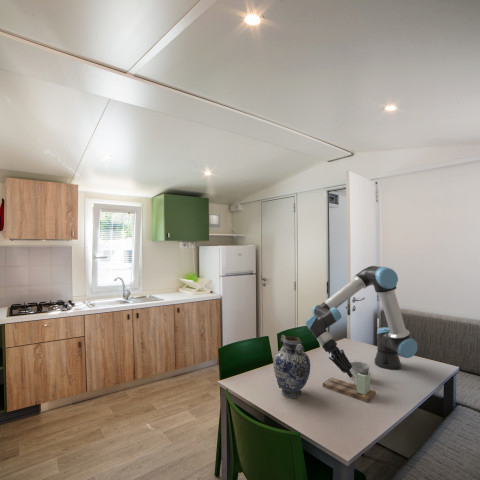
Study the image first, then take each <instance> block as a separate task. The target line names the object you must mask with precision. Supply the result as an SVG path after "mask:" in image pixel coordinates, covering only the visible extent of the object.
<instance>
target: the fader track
mask: <svg viewBox="0 0 480 480" xmlns="http://www.w3.org/2000/svg"><path fill="white" fill-rule="evenodd" d="M322 387H323V388H324V389H328V390H331V391H334V392H336V393H339V394H342V395H345V396H348V397H350V398H354V399H357V400H359V401H362V402H365V403H369V402H370V401H371V400H373V398H375V397H376V396H377V392H376V390H374V389H373V390H372V389H370V391H369V392H368V393H366V394H365V395H364V394H361V393H358V392H357V384H355V383H351V382H347V381H344V380H341V379H338V378H336V377H330V378H328V379H326V380H325V381H324V382H322Z"/></svg>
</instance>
